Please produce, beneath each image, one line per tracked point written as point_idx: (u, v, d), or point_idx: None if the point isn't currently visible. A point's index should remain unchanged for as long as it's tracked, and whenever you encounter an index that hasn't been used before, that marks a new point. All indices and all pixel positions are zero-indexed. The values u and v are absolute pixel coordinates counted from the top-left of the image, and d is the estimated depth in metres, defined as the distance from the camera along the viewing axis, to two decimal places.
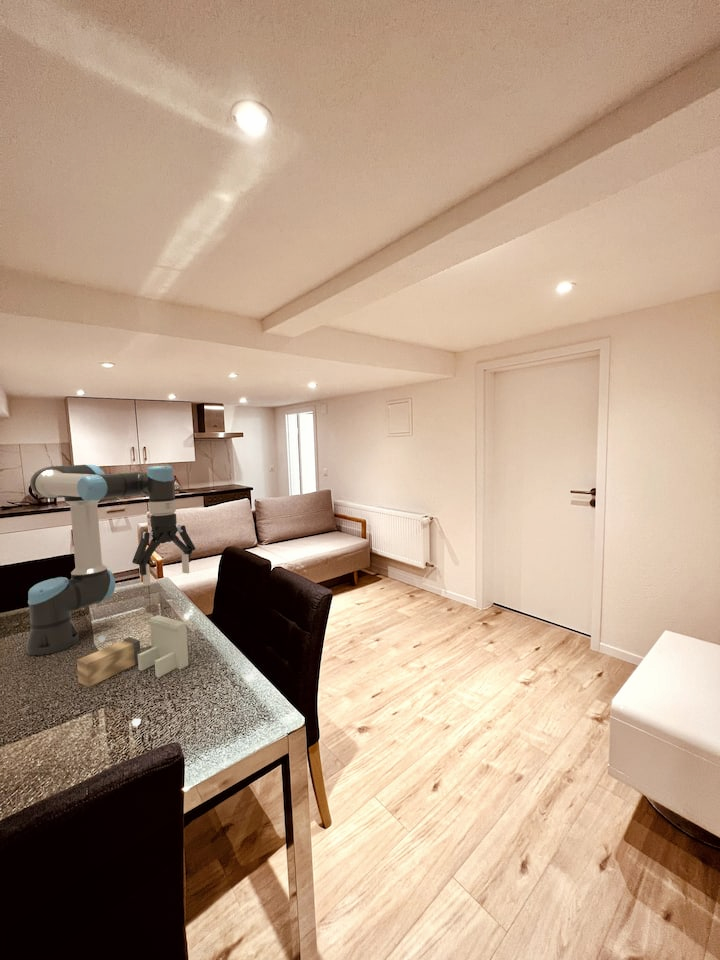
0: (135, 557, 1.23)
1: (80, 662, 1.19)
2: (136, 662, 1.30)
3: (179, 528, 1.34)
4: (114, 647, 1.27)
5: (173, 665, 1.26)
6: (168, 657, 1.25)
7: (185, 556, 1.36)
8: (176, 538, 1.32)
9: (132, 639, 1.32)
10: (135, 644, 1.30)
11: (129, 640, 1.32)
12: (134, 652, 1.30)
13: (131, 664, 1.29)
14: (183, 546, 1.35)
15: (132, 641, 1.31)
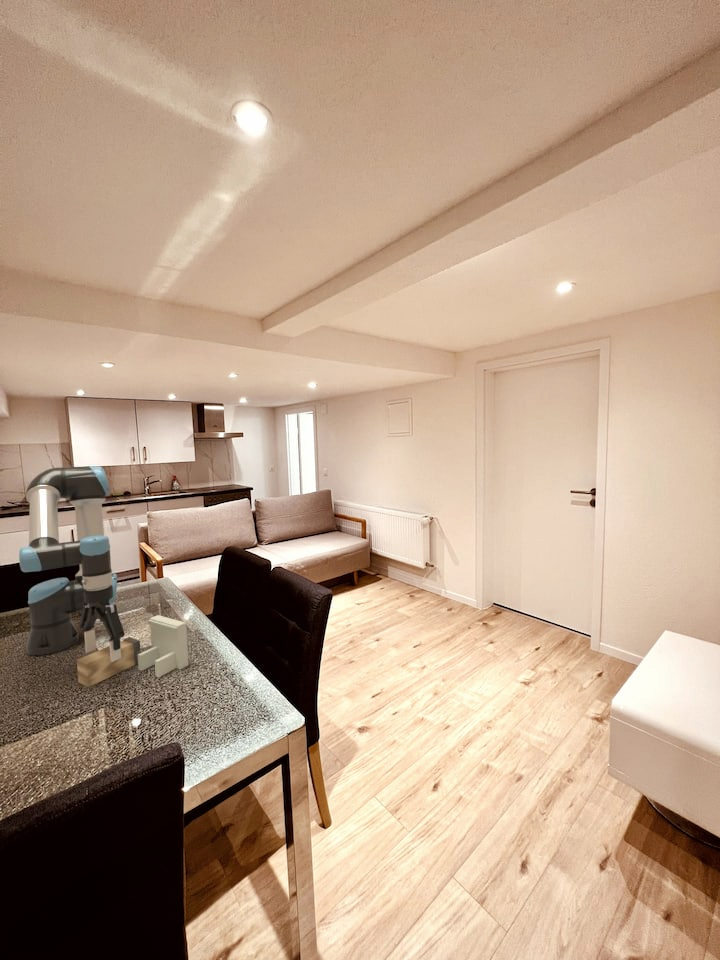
0: None
1: (80, 662, 1.19)
2: (136, 662, 1.30)
3: None
4: None
5: (173, 665, 1.26)
6: (168, 657, 1.25)
7: None
8: (99, 618, 1.20)
9: (132, 639, 1.32)
10: (135, 644, 1.30)
11: (129, 640, 1.32)
12: (134, 652, 1.30)
13: (131, 664, 1.29)
14: (107, 629, 1.19)
15: (132, 641, 1.31)
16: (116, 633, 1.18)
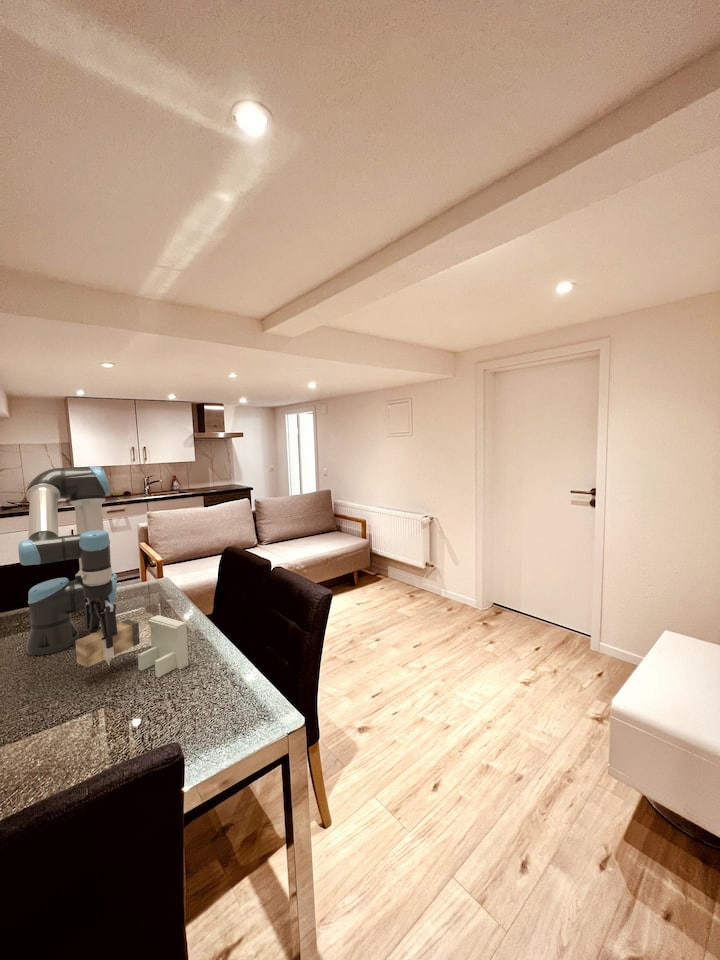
0: None
1: (78, 642, 1.19)
2: (135, 644, 1.31)
3: (107, 606, 1.20)
4: None
5: (173, 665, 1.26)
6: (168, 657, 1.25)
7: None
8: (97, 613, 1.21)
9: (130, 621, 1.32)
10: (133, 626, 1.30)
11: (128, 622, 1.32)
12: (133, 634, 1.30)
13: (130, 646, 1.29)
14: (102, 627, 1.21)
15: (131, 623, 1.31)
16: (110, 633, 1.20)
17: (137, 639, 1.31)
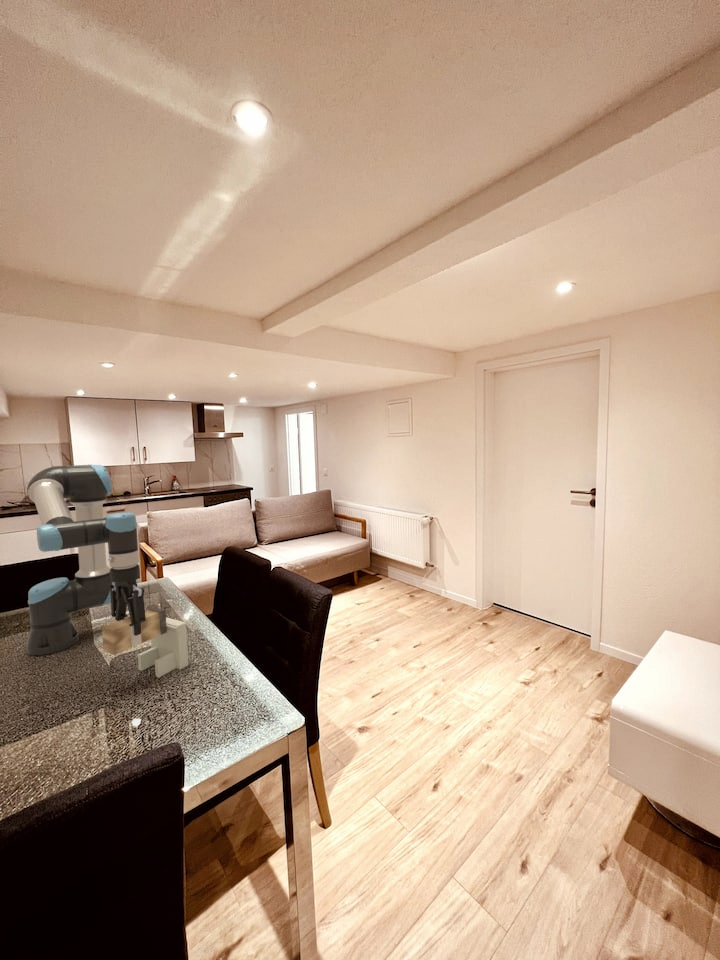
0: None
1: (105, 629, 1.14)
2: (162, 632, 1.25)
3: (135, 590, 1.15)
4: None
5: (173, 665, 1.26)
6: (168, 657, 1.25)
7: None
8: (125, 599, 1.16)
9: (157, 609, 1.27)
10: (160, 614, 1.24)
11: (154, 609, 1.26)
12: (160, 622, 1.24)
13: (157, 634, 1.24)
14: (130, 612, 1.16)
15: (157, 610, 1.25)
16: (138, 618, 1.15)
17: (165, 627, 1.26)
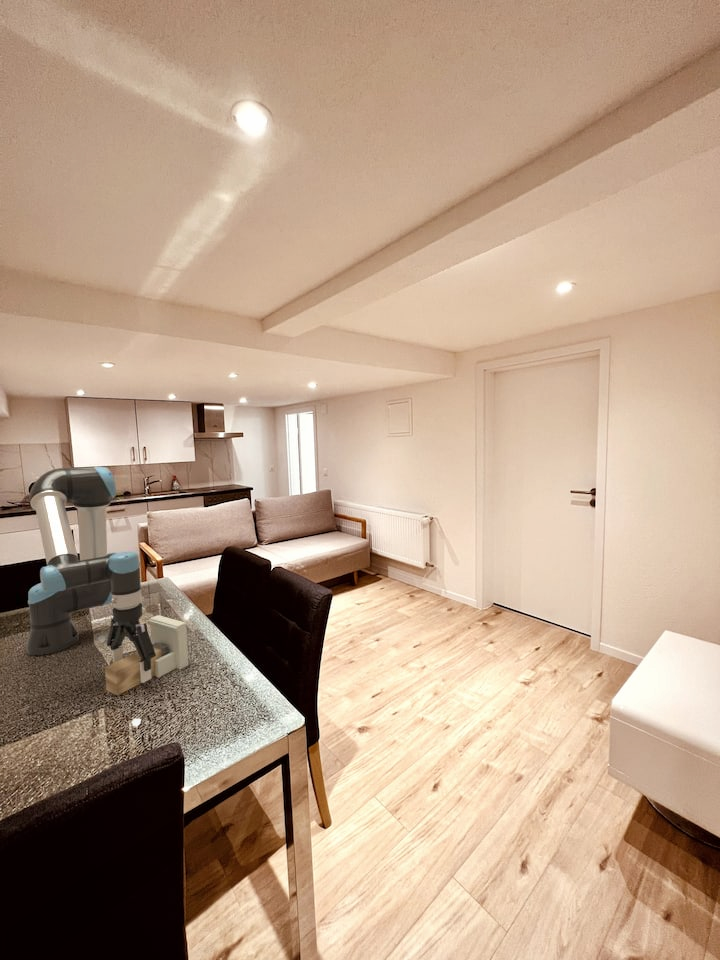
0: None
1: (108, 669, 1.15)
2: None
3: None
4: None
5: (173, 665, 1.26)
6: (168, 657, 1.25)
7: None
8: (129, 637, 1.16)
9: (159, 645, 1.28)
10: (163, 650, 1.25)
11: (156, 646, 1.27)
12: None
13: None
14: (137, 649, 1.15)
15: (160, 647, 1.26)
16: (147, 654, 1.14)
17: None
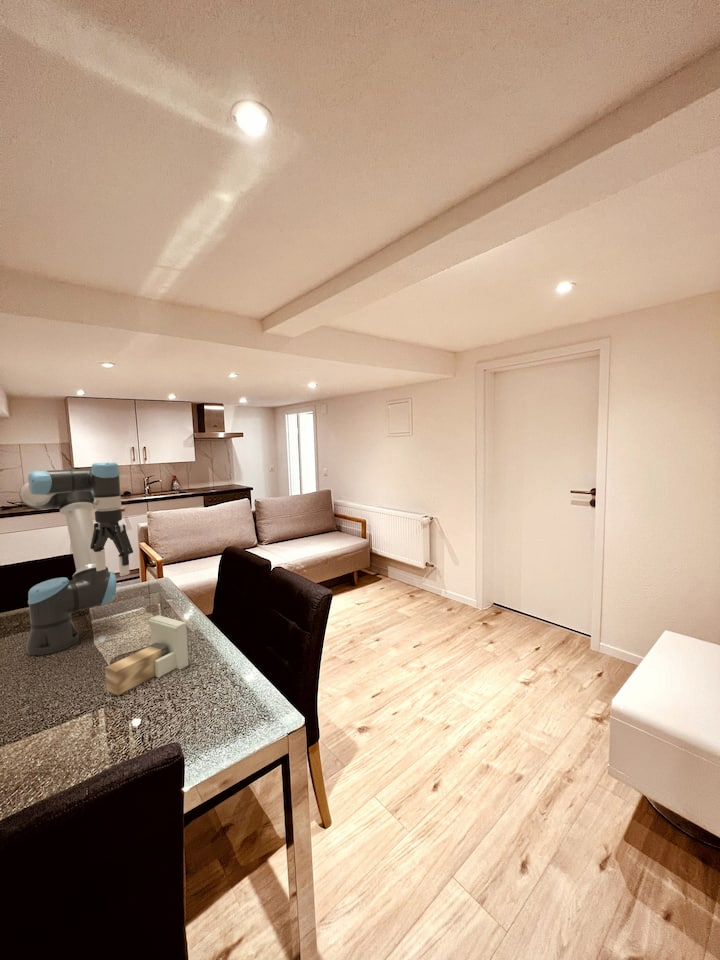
0: None
1: (109, 669, 1.15)
2: None
3: None
4: (142, 653, 1.23)
5: (173, 665, 1.26)
6: (168, 657, 1.25)
7: None
8: (109, 536, 1.30)
9: (159, 645, 1.28)
10: (163, 650, 1.25)
11: (156, 646, 1.27)
12: None
13: None
14: (117, 546, 1.30)
15: (160, 647, 1.26)
16: (125, 549, 1.28)
17: None
